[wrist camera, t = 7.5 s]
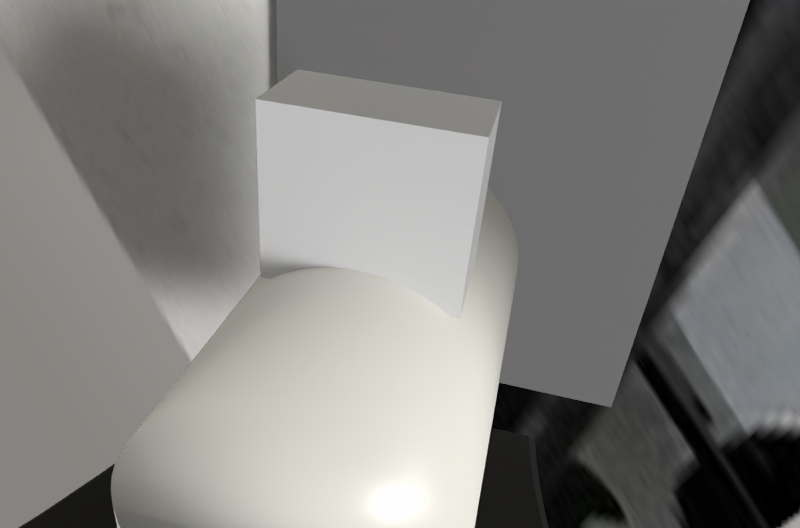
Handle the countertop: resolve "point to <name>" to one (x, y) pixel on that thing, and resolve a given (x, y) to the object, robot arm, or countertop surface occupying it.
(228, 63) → the countertop surface
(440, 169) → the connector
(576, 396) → the mat
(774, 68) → the countertop surface
